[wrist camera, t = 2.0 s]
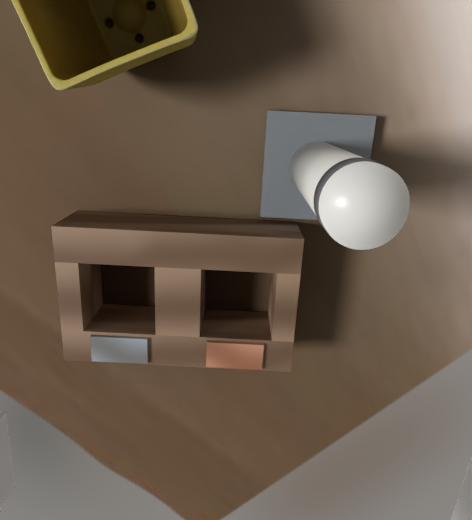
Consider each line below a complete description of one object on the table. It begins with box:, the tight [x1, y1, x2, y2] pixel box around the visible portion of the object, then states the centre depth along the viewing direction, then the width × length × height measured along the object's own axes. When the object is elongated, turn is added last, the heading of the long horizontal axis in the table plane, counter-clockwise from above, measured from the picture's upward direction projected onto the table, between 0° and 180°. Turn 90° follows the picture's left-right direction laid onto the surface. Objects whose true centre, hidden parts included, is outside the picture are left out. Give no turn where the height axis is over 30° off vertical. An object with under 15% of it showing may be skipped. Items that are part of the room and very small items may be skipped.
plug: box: [290, 141, 410, 250], centre depth 26 cm, size 4×4×14 cm
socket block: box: [51, 211, 304, 372], centre depth 34 cm, size 11×18×5 cm, turn 87°
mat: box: [260, 110, 377, 220], centre depth 33 cm, size 8×8×1 cm
